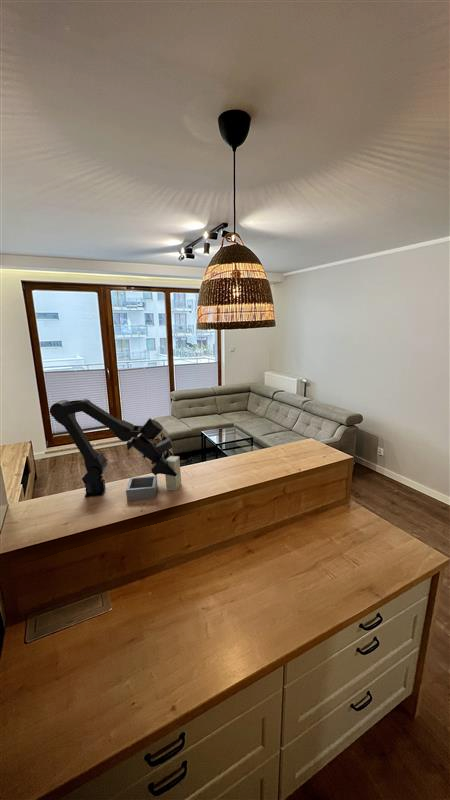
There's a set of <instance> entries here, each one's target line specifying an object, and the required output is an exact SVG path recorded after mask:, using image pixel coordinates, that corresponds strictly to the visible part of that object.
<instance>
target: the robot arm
mask: <svg viewBox="0 0 450 800" xmlns="http://www.w3.org/2000/svg"><path fill="white" fill-rule="evenodd" d="M81 412H83V413H84V414H86V415H87V416H89V417H90V418H92V419H94V420H95V421H96V422H99V423H100V424H102V425H103V426H105V427H106V428H108V429H109V430H111V432H112V434H113V435H114V436H115V437H116V438H117V439H118V440H120V441H121V442H125V443H126V446H127V447H126V449H127V450H128V451H129V450H130V449H131V448H134V449H135V450H136V451H137V452H139V454H141V455H142V457H143V459H146V458H147V459H148V461H150V464H151V465H152V466H151V473H152V475H153V476H157V475H159V474H160V475H170V476H176V475H177V474H176V472H175V471H174V470H173V469H172V468H171V467H170V466H169V465H168V460H167V461H166V459H167V458H168V457H169V456H170V450H171V449H172V448H173V447H174V443H173V441H172V438H171V437H169V436H166V435H163V436H162V437H161V441H159V442H158V443H157V442H154V440H155V439H156V438H157V437H158V436H159V435H160V433H162V432H163V431H164V427H163V425H162V424H161V423H160V422H159V421H157V420H155V419H152V418H151V417H149V418H148V419H147V421H146V422H145V423H144V424H143V425H134V424H133V423H131V422H129V421H126V420H124V419H123V420H122V419H120V418H117V417H116V416H113V415H112V414H110V413H109V412H107V411H106V410H104V409H102V408H101V407H100V406H98V405H96V404H94V403H93V402H91V401H90V399H87V398H84V399H80V400H79V399H75V400H67V399H62V400H59V401H57V402H55V403H53V404H52V405H51V406H50V408H49V414H50V416H51V417H52V419H54V420H55V421H56V422H57V423H58V424H60V425H61V426H63V427H64V429H65V430H66V431H67V433H68V435H69V437H70V438H71V440H72V442H73V443H74V444H75V446H76V448H77V450H78V451H79V453H80V454H81V456H82V458H83V459H84V460H83V461H84V466H85V467H84V468H85V470H86V473H85V474H84V475H83V476H82V477H81V480H82V482H83V484H84V487H85V488H86V489H85V495H84V497H85V498H88V497H90V498H91V497H99V496H100V497H101V496H103V494H104V493H105V491H106V482H105V481H106V480H105V479H104V476H103V474H104V472H105V471H106V469H107V467H108V459H107V458H106V456H105V455H104V453H103V452H102V451H101V452H100V453H99V452H98V451H96V450H95V448H94V447H93V446H92V444H91V442H90V440H89V439H88V437H87V436H86V434H85V432H84V430H83V429H82V427H81V425H80V423H79V422H78V420H77V418H76V413H81ZM151 440H152V441H153V442H152V441H151Z"/></svg>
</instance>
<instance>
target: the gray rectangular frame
mask: <svg viewBox="0 0 450 800" xmlns="http://www.w3.org/2000/svg"><path fill="white" fill-rule="evenodd" d="M157 490H158V476H157V475H156V476H155V475H148V476H137V477H136V476H135V477H130V478H129V480H128V483H127V486H126V489H125V493H126V494H125V495H126V502H133V501H134V502H135V501H143V500H144V501H146V500H154V499H156V498H157V497H156V496H157V492H158V491H157Z"/></svg>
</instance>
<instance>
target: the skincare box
mask: <svg viewBox="0 0 450 800" xmlns="http://www.w3.org/2000/svg"><path fill="white" fill-rule="evenodd" d="M167 460H168V465H169V466H170V467H171V468H172V469H173V470H174V471H175V472H176V474H177V475H176V476H170V475H165V474H164V475H165V485H166V487H165V489H166V490H167V491H178V489H179V488H180V486H181V485H182V475H181V473H182V472H181V462H180V461H181V460H180V456H175V455H169V457H168V458H167V459H166V461H167Z"/></svg>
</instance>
